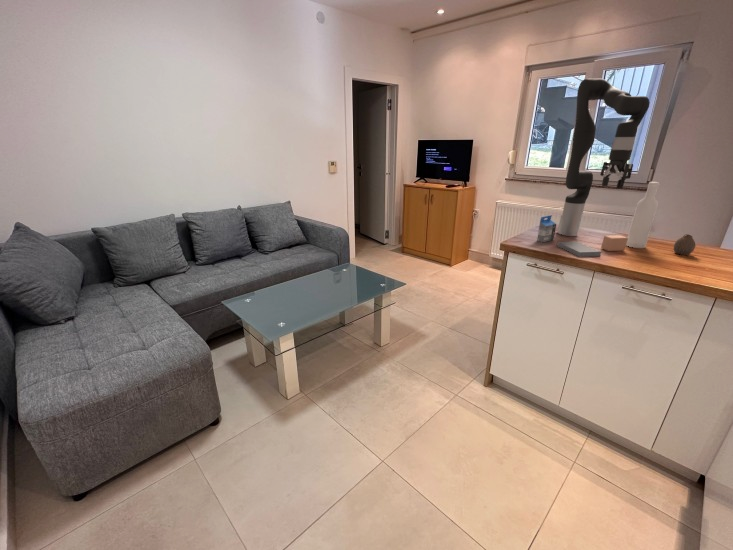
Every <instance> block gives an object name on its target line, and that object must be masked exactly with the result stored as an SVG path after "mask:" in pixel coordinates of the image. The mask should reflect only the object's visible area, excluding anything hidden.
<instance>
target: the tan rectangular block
mask: <svg viewBox="0 0 733 550" xmlns="http://www.w3.org/2000/svg"><path fill="white" fill-rule="evenodd" d="M627 240H628V238H627V236H624V235H621V234H618V235H616V234H615V235H604V236H603V239H602V244H601V246H600V249H603V250H605V251H608V252H609V251H610V252H611V251H612V252H613V251H614V252H615V251H616V252H617V251H625V249H626V247H627V246H626V243H627Z"/></svg>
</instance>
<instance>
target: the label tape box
mask: <svg viewBox="0 0 733 550" xmlns="http://www.w3.org/2000/svg"><path fill="white" fill-rule="evenodd" d="M552 216H553V214H551V215H550V214H549V215H546V216H541V217H540V220H539V226H538V231H537V232H538V233H537V237H536V239H537V240H536V241H537V242H540V241H541V242H540V243H546V242H550V241H554V240H555V234H556V231H557V223H556V222H554V221H553V220H551V219H552Z"/></svg>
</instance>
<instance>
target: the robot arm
mask: <svg viewBox="0 0 733 550" xmlns="http://www.w3.org/2000/svg"><path fill="white" fill-rule="evenodd" d="M596 100H599V101H600V100H601V101H603V103H604V105H606V106H607V107H608V108H611V109H613V110H614V111H615V112H616V114H618V115H620V116H630V117H629V119H628V120H627V121H623V122H620V123H619V124H618V125H617V128H616V132H615V135H614V140H613V141H612V145H611V149H610V152H609V156H608V161H604V162H603V164H602V167H601V171H600V174H599V175H600V176H602V181H601V186H602V187H608V185H609V182H610V177H611V176H612V175H613V174H616V176H618V180H617V184H616V190H619V189H623V187H624V185H625V180H630V178H631V176H632V171H633V167H634V163H628V161H630V159H631V156H632V152H633V149H634V145H635V140H636V136H637V131H638V128H639V125H640V124H641V123H642V121H643V118H644V116H646V113H647V112H648V110H649V108H650V99H649V98H648V97H647V96H644V95H643V96H642V95H641V96H640V95H637V96H635V95H634V96H633V95H631V94H630V93H629V92H628V91H625V90H622V89H619V88H618V87H617V88H616V87H615V86H613V85H612V84H611V83H610V82H609V81H608V80H606V79H604V78H585V79H582V81H581V82H580V83H579V86H578V88H577V95H576V112H575V113H576V115H575V124H574V130H573V135H572V136H573V137H572V145H571V152H570V158H569V164H568V168H567V171H566V172H567V173H566V178H565V186H566V188H567V189H568V190H575V192H573V193H572V194H568V195H567V196H566V197H565V200H564V204H563V210H562V214H561V215H560V219H559V224H558V228H557V233H558V234H559V235H561V234H562V236H565V237H567V236H568V237H576V236H578V235H579V230H580V225H581V222H582V218H583V214H584V210H585V205H586V202H587V199H589V198H588V197H589V194H590V193H591V192H590V191H591V189H592V186H593V181H594V175H593V172H592V171H591V170H580V167H581V163H582V161H583V159H584V157H585V155H586V154H587V153H589V151H590V149H592V147H593V145H594V143H595V140H596V139H595V138H596V132H597V127H596V124H595V121H594V119H593V117H592V116H591V113H590V109H589V101H596Z"/></svg>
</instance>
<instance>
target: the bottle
mask: <svg viewBox="0 0 733 550" xmlns="http://www.w3.org/2000/svg"><path fill="white" fill-rule="evenodd" d="M659 187H660V182H657V181H649V182H648V184H647V187H646V189H647V190H646V192H645V195H644V197H643V198H642V199H639V201H638V202H637V204H636V206H635V210H634V213H633V216H632V220H631V223H630V227H629V229H628V234H627V236H626V237H627V238H628V240H627V243H626V247H628V246H629V247H630V248H632V247H633V248H632V249H645V248H646V246H647V244H648V240H649V237H650V234H651V230H652V227H653V224H654V220H655V218H656V214H657V211H658V208H659V201H658V200H657V198H656V196H657V192H658V189H659ZM629 247H628V248H629Z"/></svg>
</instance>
